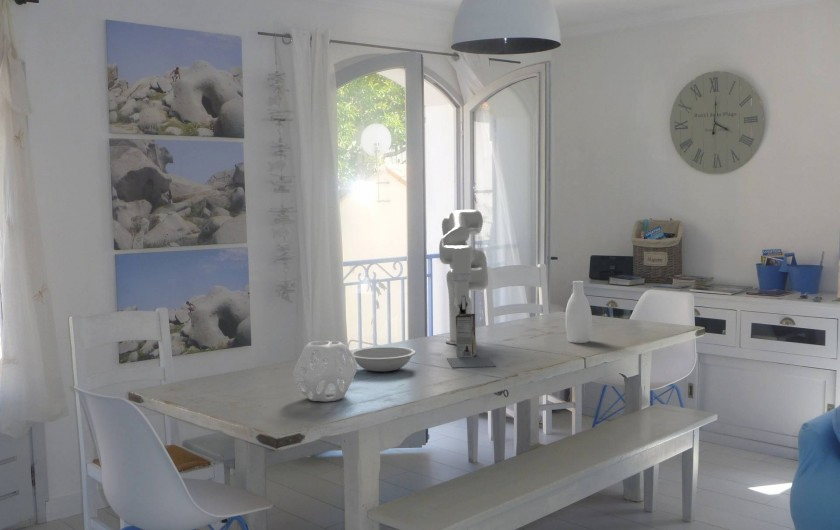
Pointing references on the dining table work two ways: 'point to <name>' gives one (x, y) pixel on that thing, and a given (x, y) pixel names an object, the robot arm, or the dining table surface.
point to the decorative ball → (325, 370)
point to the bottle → (578, 315)
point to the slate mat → (471, 362)
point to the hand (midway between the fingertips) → (462, 323)
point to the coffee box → (465, 335)
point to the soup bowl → (383, 358)
